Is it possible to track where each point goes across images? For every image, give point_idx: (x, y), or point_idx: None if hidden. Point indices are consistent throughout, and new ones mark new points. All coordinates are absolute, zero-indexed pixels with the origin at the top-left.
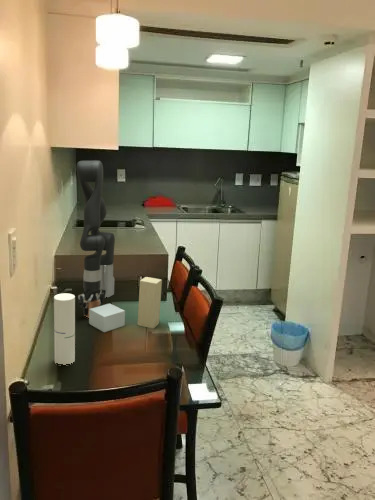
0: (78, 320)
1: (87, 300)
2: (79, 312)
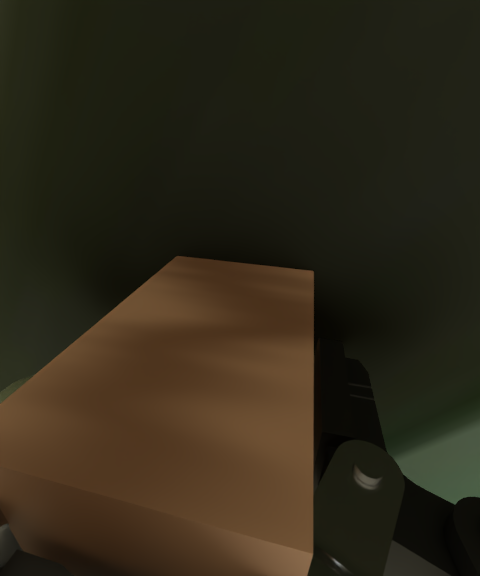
0: (84, 298)
1: (27, 527)
2: (195, 101)
